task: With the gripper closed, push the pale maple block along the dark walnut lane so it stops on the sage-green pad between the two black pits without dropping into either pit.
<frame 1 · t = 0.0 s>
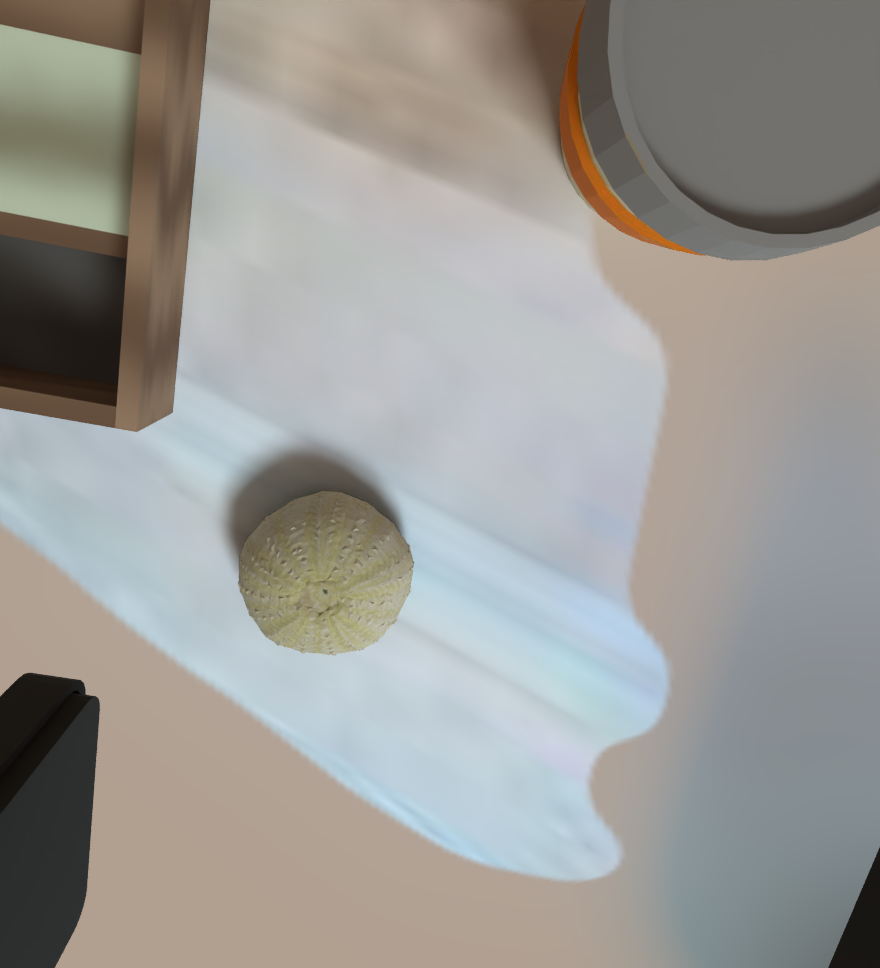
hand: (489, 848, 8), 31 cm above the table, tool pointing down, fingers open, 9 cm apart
sea urchin shell: (332, 560, 41), on the table
reusable coffee cup: (650, 133, 35), on the table
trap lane: (86, 8, 33), on the table
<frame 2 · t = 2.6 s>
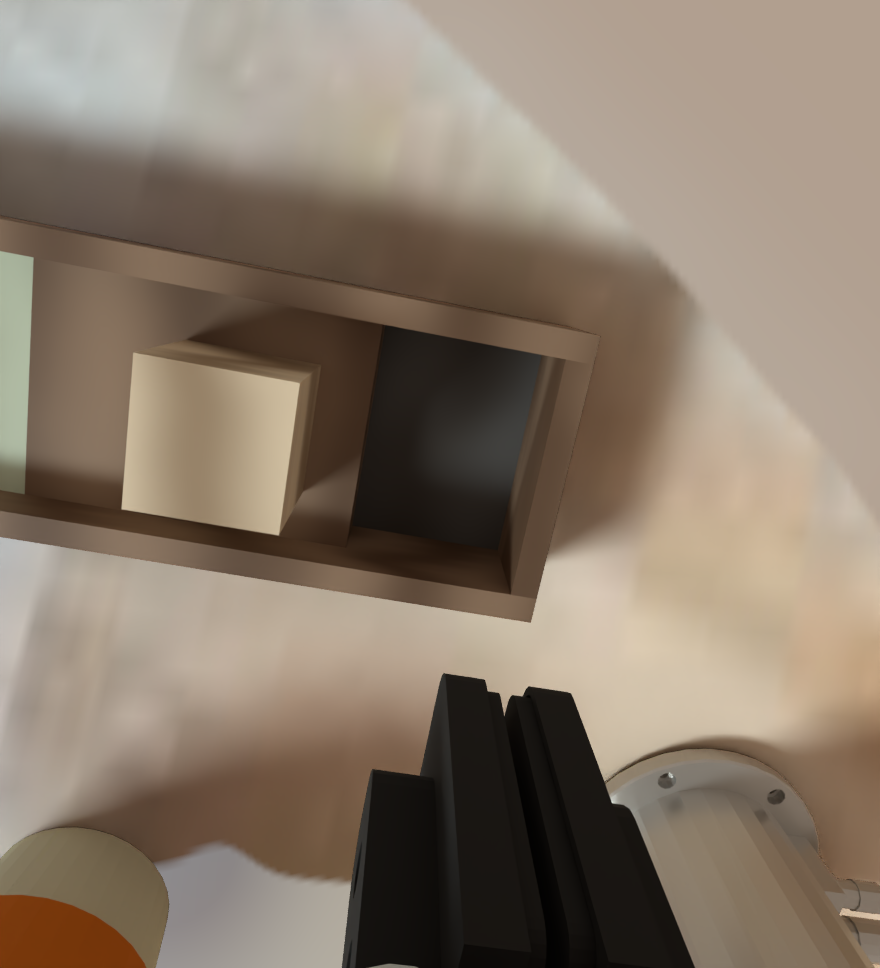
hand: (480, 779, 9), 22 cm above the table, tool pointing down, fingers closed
maple block: (246, 418, 27), point 3 cm above the table, touching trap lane
reusable coffee cup: (82, 896, 37), on the table
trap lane: (116, 378, 30), on the table
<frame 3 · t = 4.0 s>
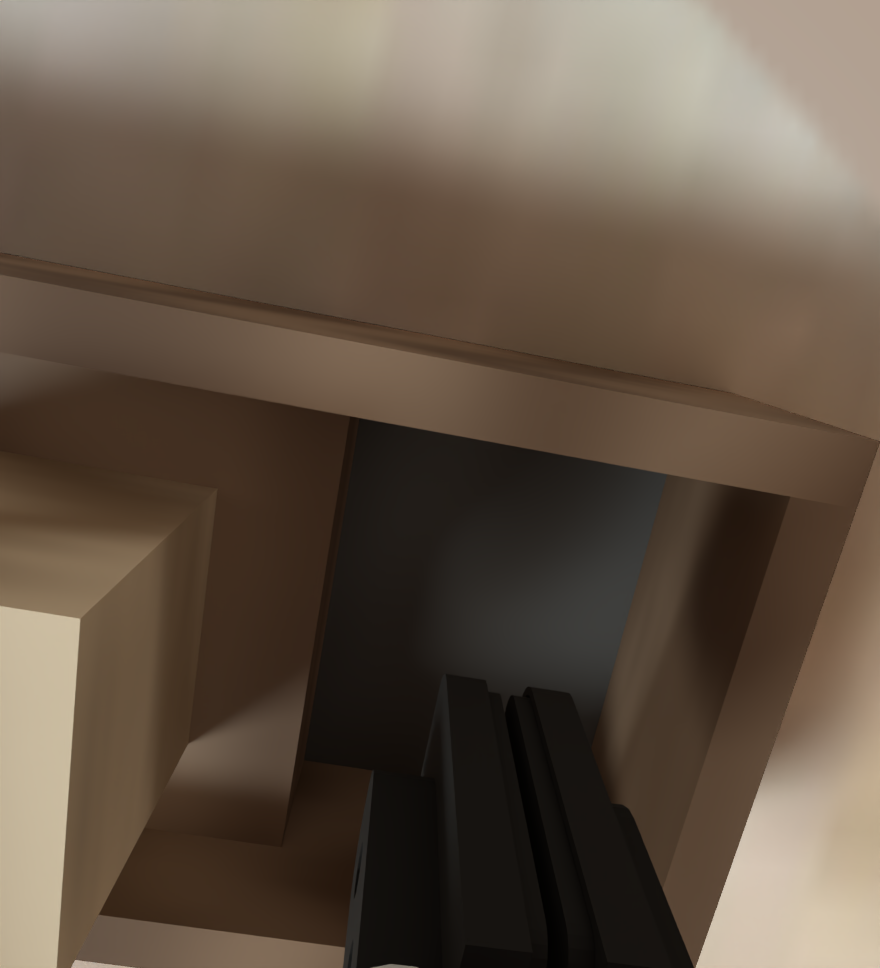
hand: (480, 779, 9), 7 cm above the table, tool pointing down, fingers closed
maple block: (58, 599, 13), point 3 cm above the table, touching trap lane
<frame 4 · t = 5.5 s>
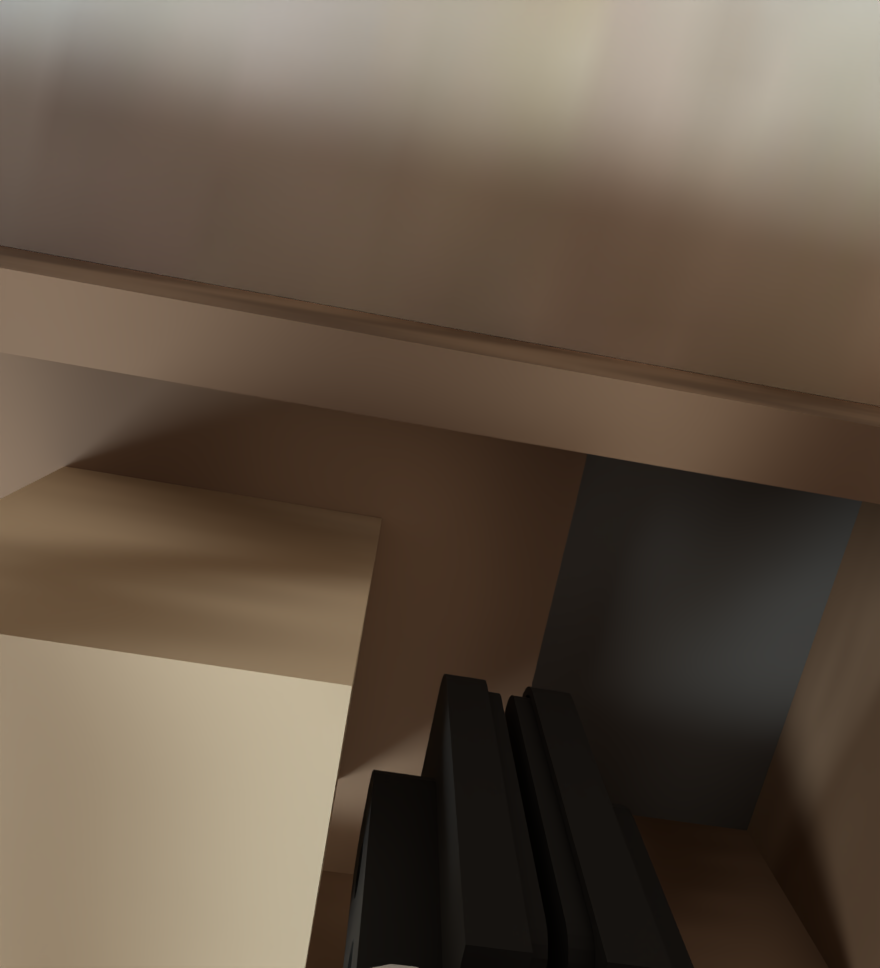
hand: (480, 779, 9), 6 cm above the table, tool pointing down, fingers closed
maple block: (210, 634, 12), point 3 cm above the table, touching gripper
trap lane: (5, 528, 15), on the table
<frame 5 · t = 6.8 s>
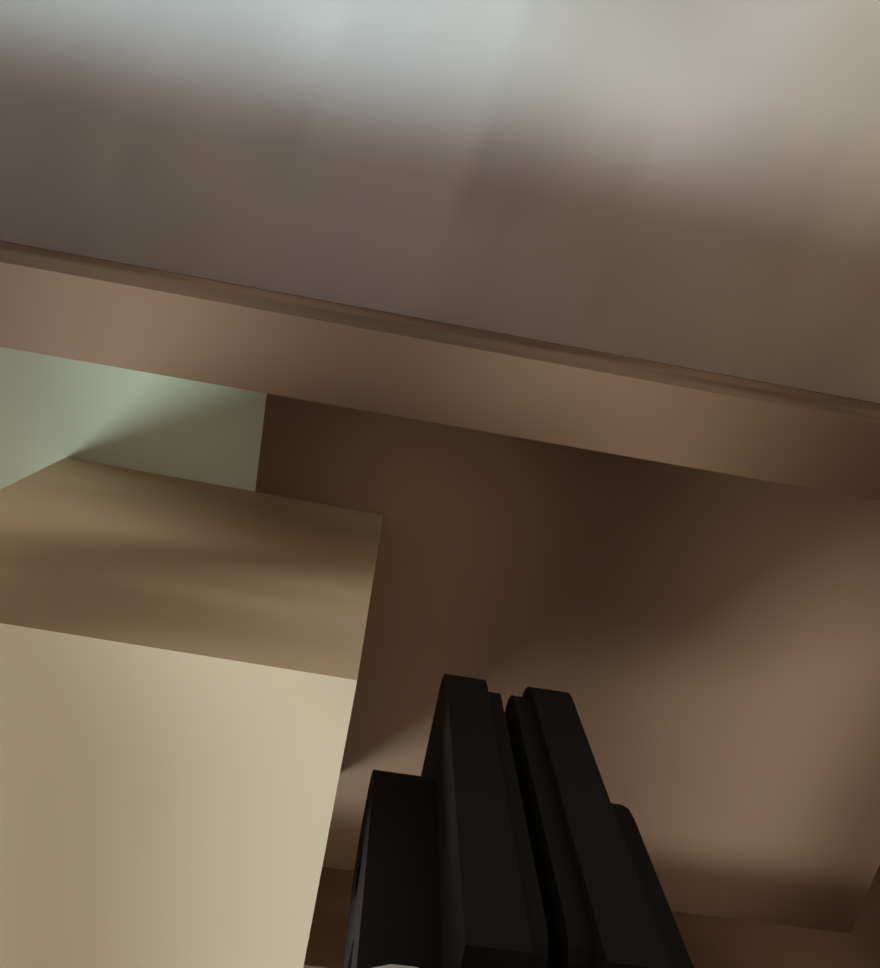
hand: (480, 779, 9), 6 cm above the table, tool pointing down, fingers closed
maple block: (209, 628, 12), point 3 cm above the table, touching gripper
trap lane: (368, 581, 15), on the table
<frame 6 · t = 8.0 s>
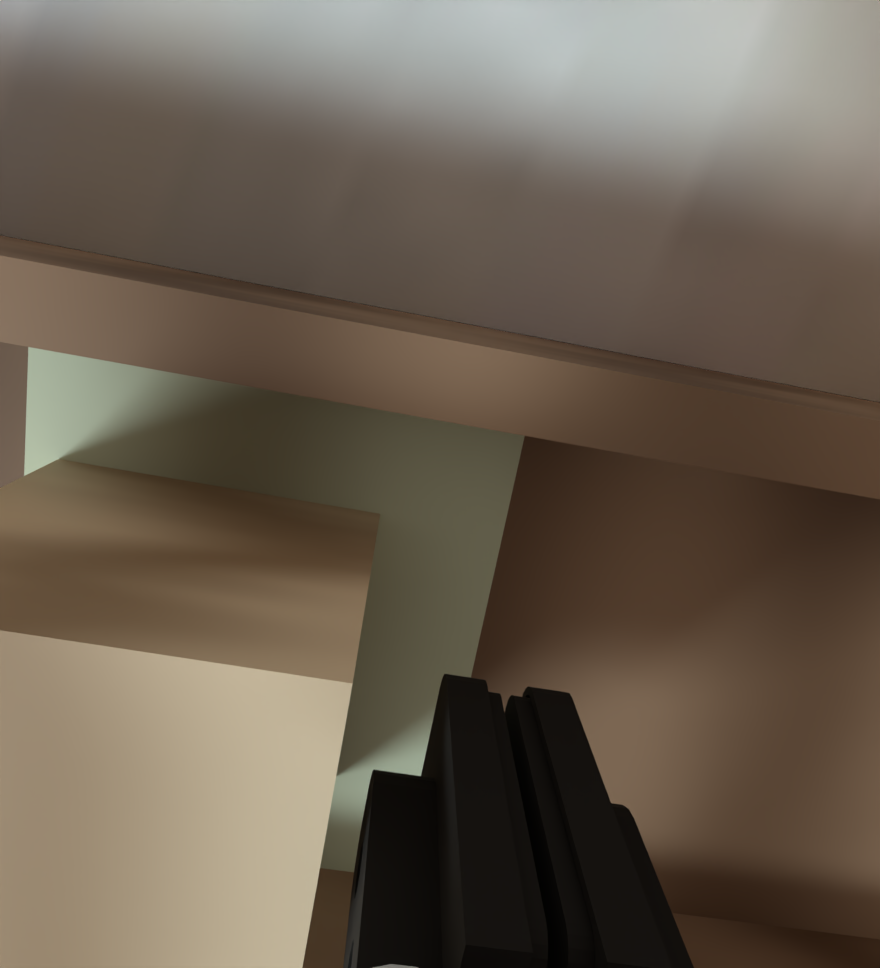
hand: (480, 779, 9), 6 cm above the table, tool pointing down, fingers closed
maple block: (206, 629, 12), point 3 cm above the table, touching gripper, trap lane
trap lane: (554, 610, 15), on the table
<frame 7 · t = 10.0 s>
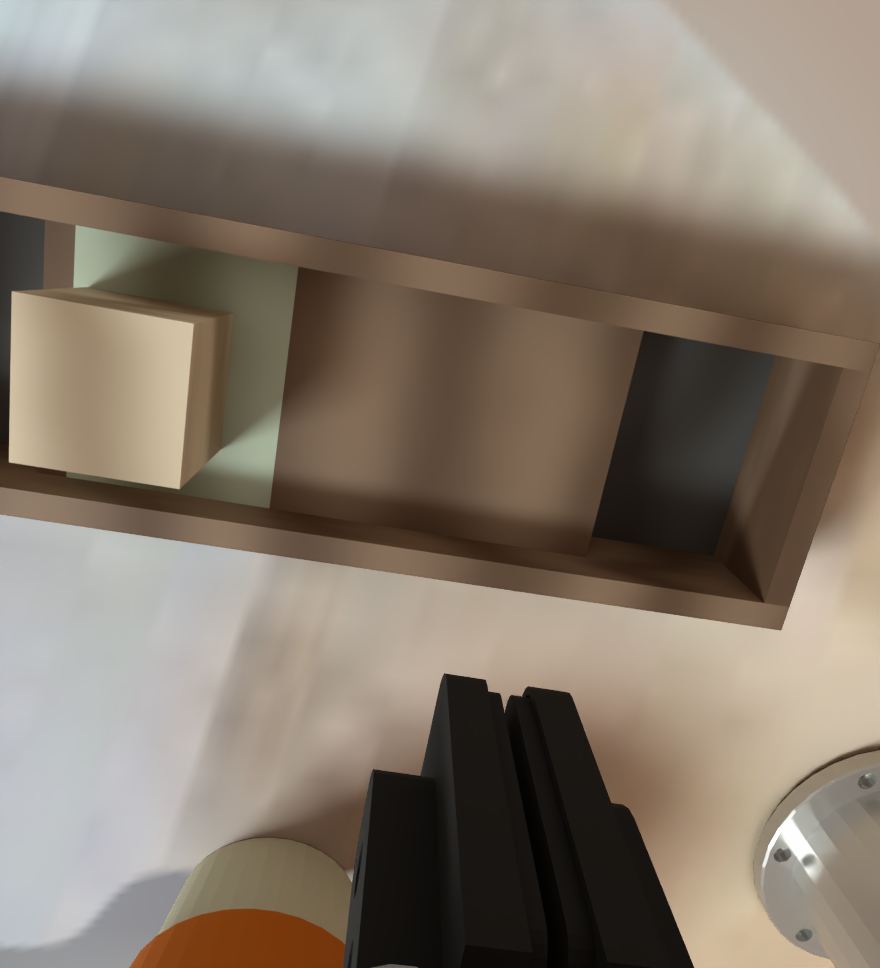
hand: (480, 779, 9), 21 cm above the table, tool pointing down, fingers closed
maple block: (156, 371, 26), point 3 cm above the table, touching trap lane
reusable coffee cup: (270, 905, 37), on the table
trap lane: (344, 388, 29), on the table
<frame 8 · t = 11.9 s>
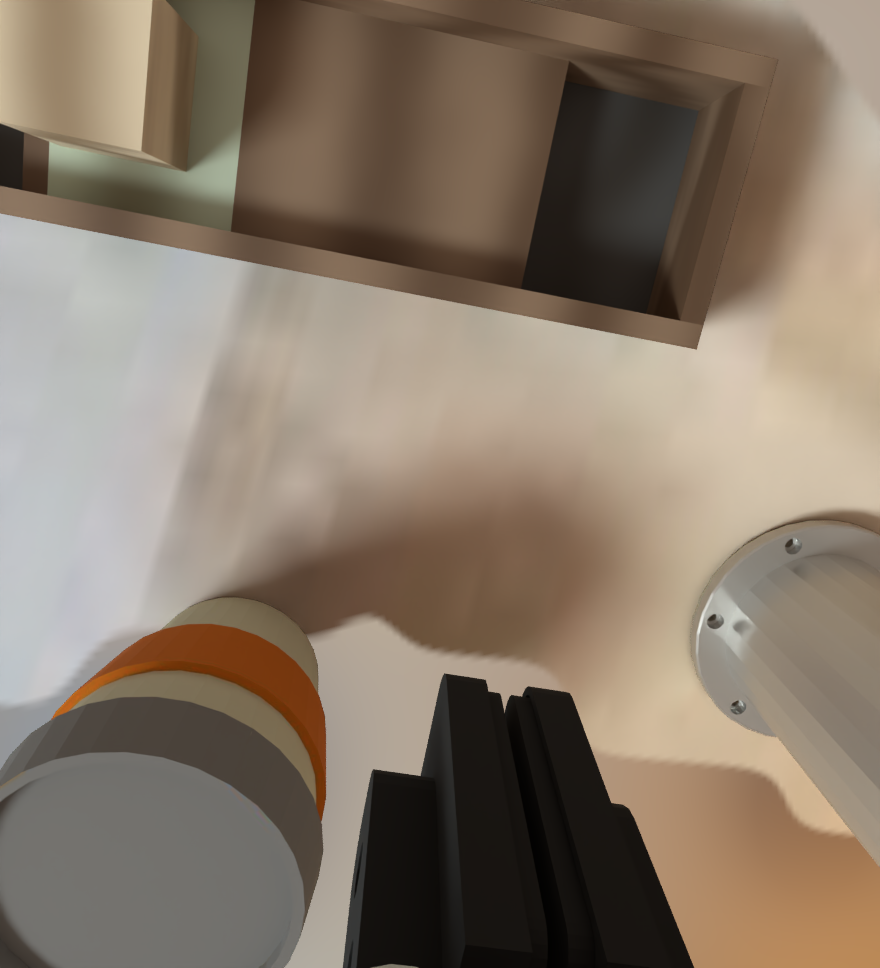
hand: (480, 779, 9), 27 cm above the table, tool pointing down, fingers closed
maple block: (128, 92, 29), point 3 cm above the table, touching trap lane
reusable coffee cup: (236, 670, 39), on the table
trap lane: (303, 140, 32), on the table
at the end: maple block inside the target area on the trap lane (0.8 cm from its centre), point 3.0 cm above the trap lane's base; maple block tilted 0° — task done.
